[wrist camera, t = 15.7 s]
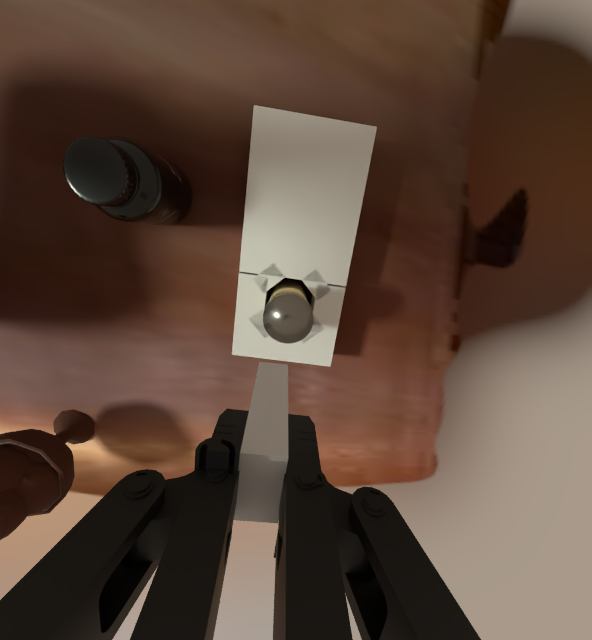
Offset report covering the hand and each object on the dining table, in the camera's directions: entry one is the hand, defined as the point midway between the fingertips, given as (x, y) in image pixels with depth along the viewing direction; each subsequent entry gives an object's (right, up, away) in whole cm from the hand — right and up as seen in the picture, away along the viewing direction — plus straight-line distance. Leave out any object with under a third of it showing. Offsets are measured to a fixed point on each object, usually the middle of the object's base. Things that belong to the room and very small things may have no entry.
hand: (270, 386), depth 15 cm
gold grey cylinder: (0, +6, +21) cm, 22 cm away
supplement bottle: (-14, +18, +18) cm, 29 cm away
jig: (+1, +12, +20) cm, 23 cm away
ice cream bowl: (-30, -12, +26) cm, 42 cm away
